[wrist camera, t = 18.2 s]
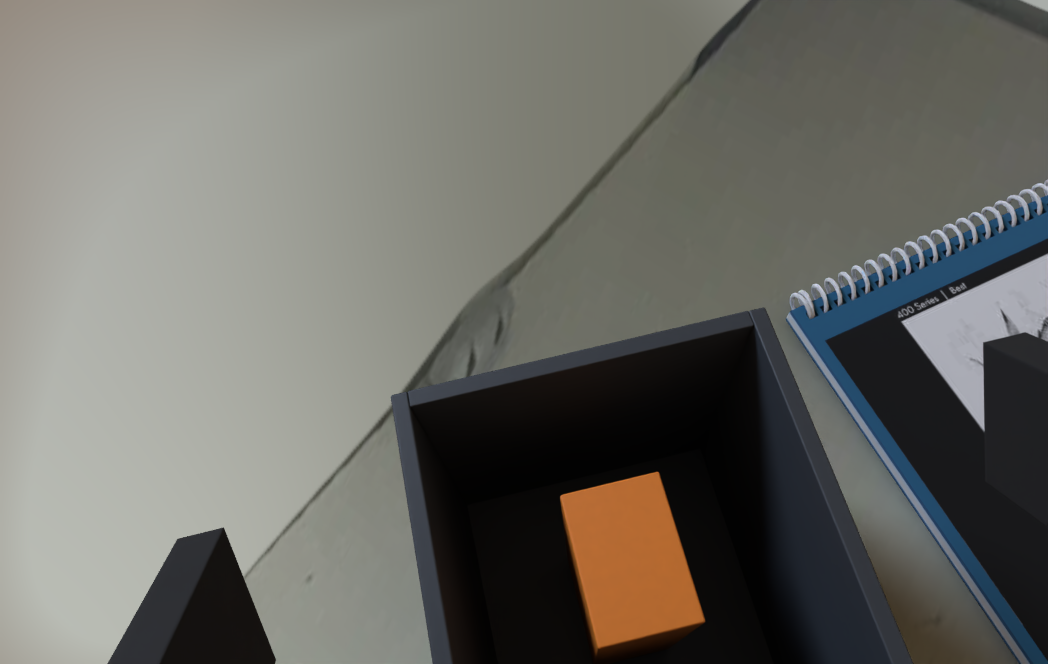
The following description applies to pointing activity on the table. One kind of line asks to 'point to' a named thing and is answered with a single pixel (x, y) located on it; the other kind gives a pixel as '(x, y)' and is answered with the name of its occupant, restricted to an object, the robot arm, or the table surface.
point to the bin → (625, 452)
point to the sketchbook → (946, 393)
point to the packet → (629, 569)
